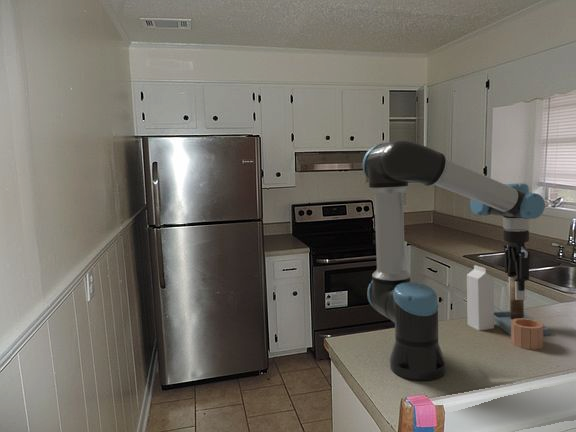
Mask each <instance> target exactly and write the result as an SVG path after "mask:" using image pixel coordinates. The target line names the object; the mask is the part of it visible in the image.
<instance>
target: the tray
mask: <svg viewBox="0 0 576 432" xmlns="http://www.w3.org/2000/svg"><path fill="white" fill-rule="evenodd" d="M524 318H527V319H533V320H536V319H535V318H533V317H532V316H530V315H529V314H527V313H526V312H524ZM511 321H512V319H511V318H510V310H504V311H502V310H499V311H494V324H496V325H497V326H499V328H500V329H502V330H503V331H504V332H506V333H507V335H509V336H510V337H511ZM550 335H551V329H550V328H548V326H545V325H544V324H543V336H550Z"/></svg>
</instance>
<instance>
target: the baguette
mask: <svg viewBox="0 0 576 432" xmlns="http://www.w3.org/2000/svg"><path fill="white" fill-rule="evenodd" d="M514 279H517V277H516V276H515V277H514V278H510V296H509V298H510V299H509V300H510V301H509V304H510V305H509V307H510V309H509V311H510V318H511V319H512V320H513V319H516V318H524V313H525V312H524V311H525V309H524V308H525V307H524V306H525V304H524V301H525V300H516V299H515V280H514Z"/></svg>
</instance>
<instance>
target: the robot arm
mask: <svg viewBox="0 0 576 432" xmlns="http://www.w3.org/2000/svg"><path fill="white" fill-rule="evenodd" d="M362 170H363V173H364V175H365V177H366V178H367V179H368V189H369V190H370V191H371V192H372V193H373V195H374V197H373V198H374V220H375V221H374V222H375V223H374V224H375V251H376V255H375V256H376V270H375V271H374V272H373V273H372V274H371V275H372V276H371V277H372V279H371V282H370V283H369V284H368V287H367V293H366V294H367V295H366V296H367V300H368V302H369V304H370V305H371V307H372V308H373V309H374V310H375V311H376V312H378V314H380V315H382V316H384V317H386V319H389V320H390V321H391V322H393V323H394V329H395V330H394V333H395V341H394V345H393V347H392V351H391V354H390V357H389V367H390V369H391V371H392V372H393V373H394V374H395V375H397V376H399V377H402V378H404V379H409V380H413V381H421V382H422V381H424V382H425V381H434V380H437V379H439V378H442V377H443V376H445V374H446V372H447V364H446V363H447V362H446V360H445V357H444V354H443V352H442V349H441V346H440V343H439V302H438V294H437V293H436V291H435V290H434V289H433V288H432V287H431V286H429V285H427V284H424V283H419V282H411V281H412V280H411V274H410V272H408V271H407V270H406V259H405V258H406V255H405V254H406V250H405V219H404V217H405V216H404V214H405V213H404V192H405V191H406V190H407V189H408V187H409V183H410V182H411V183H418V184H421V185H424V186H427V187H432V186H437V187H439V188H442V189H445V190H447V191H450V192H453V193H455V194H457V195H460V196H462V197H465V198H467V199H470V202H469V204H470V209H471V212H472V214H474V215H476V216H479V217H480V216H483V217H484V216H485V217H486V216H499V217H502V225H503V226H502V227H503V229H504V230H503V241H504V242H506V243H507V244H506V245H503V251H504V273H505V274H507V277H508V296H509V297H510V278H514V277H517V279H514V280H515V299H516V300H524V301H525V299H526V293H525V292H526V289H525V286H526V283H525V282H527V281H529V280H530V257H531V252H530V251H527V250H526V245H525V244H526V243H528V242H529V241H530V231H529V230H528V229H530V222H531V220H535V219H538V218H539V217H541V216H542V214H544V210H545V207H546V203H545V200H544V197H543V196H542V195H541V194H540V193H535V192H531V191H530V190H529V188H530V187H529V185H528V184H527V183H517V182H516V183H506V184H505V183H502V182H500V181H497V180H495V179H493V178H490V177H488V176H486V175H484V174H481V173H479V172H477V171H475V170H472V169H470V168H467V167H465V166H462V165H460V164H458V163H456V162H453V161H451V160H448V159H447V157H446V154H444V153H442V152H439V151H437V150H435V149H433V148H430V147H428V146H425V145H423V144H420V143H419V142H415V141H411V140H407V139H401V140H400V139H399V140H396V141H389V142H384V143H379V144H376V145H374V146H373V147H371V148H370V149H369V150H368V151H367V152H366V153H365V155H364V157H363V160H362Z"/></svg>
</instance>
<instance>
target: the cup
mask: <svg viewBox="0 0 576 432" xmlns="http://www.w3.org/2000/svg"><path fill="white" fill-rule="evenodd" d="M533 319H534V318H533ZM533 319H527V318H516V319H513V320H512V321H511V336H510V343H512V345H513V346H515V347H518V348H521V349H525V350H540V349H542V348H544V335H543V325H544V323H543V322H542V321H540V320H537V319H535V320H533Z"/></svg>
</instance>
